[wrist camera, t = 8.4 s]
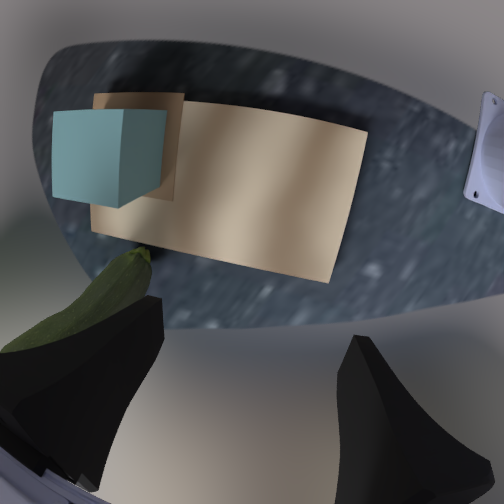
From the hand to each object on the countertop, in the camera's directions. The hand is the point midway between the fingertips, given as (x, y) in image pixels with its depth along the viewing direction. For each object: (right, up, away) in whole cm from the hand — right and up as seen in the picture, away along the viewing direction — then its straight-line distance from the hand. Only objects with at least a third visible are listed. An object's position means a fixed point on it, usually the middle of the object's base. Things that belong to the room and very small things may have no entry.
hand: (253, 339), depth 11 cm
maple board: (-3, +8, +8) cm, 12 cm away
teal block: (-8, +10, +7) cm, 15 cm away
